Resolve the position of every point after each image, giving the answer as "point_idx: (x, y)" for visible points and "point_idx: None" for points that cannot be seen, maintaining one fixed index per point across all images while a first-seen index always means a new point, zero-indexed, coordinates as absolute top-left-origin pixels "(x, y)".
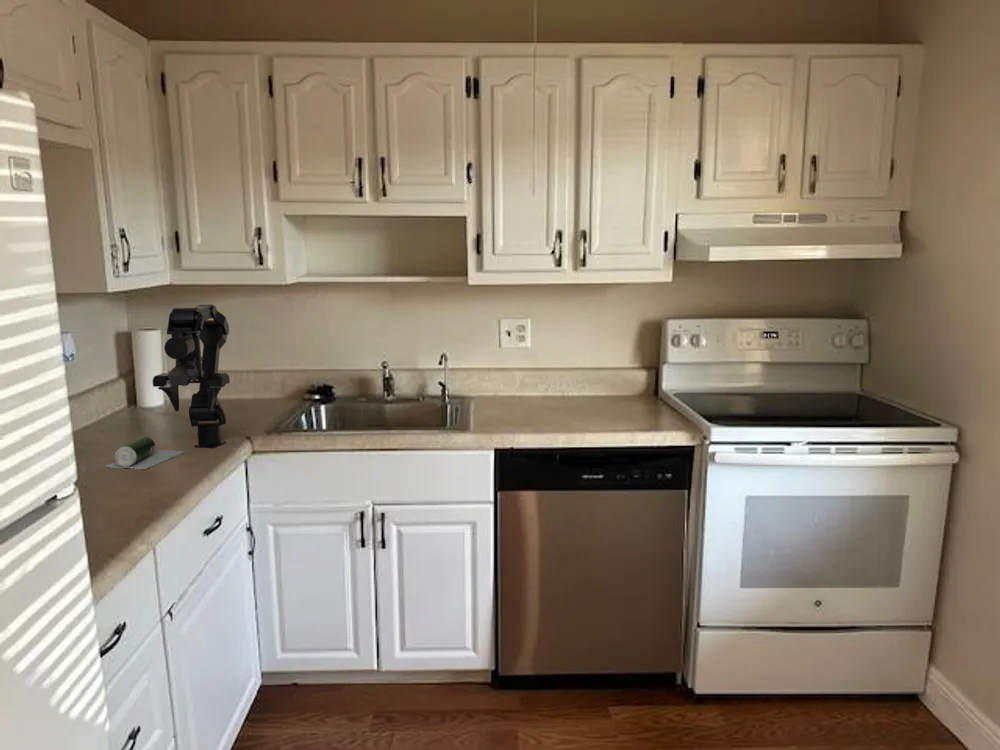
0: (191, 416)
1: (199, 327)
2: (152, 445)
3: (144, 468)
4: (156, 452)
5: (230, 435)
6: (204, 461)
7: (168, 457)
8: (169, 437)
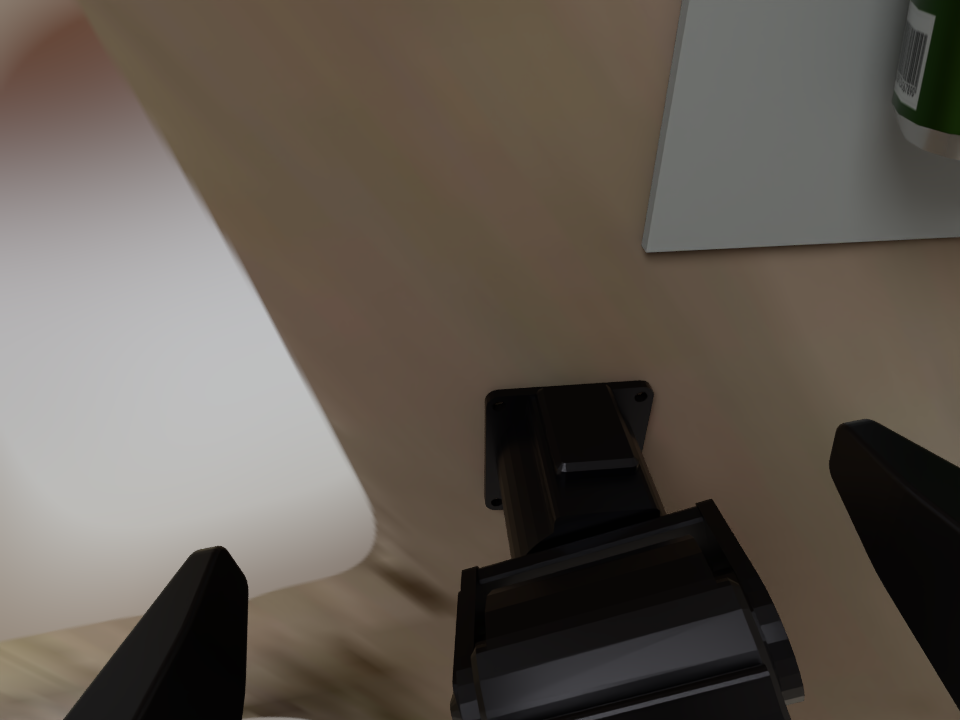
0: (732, 571)
1: None
2: (935, 68)
3: None
4: (879, 171)
5: None
6: (292, 45)
7: (700, 43)
8: None
